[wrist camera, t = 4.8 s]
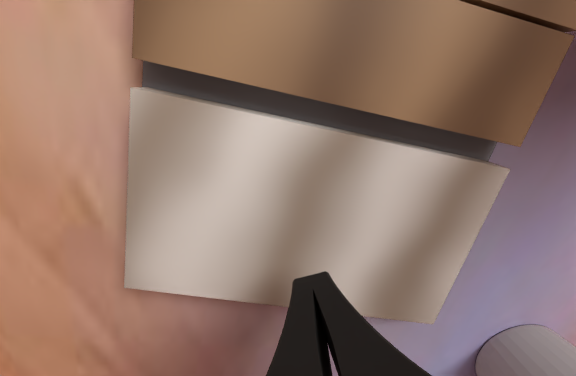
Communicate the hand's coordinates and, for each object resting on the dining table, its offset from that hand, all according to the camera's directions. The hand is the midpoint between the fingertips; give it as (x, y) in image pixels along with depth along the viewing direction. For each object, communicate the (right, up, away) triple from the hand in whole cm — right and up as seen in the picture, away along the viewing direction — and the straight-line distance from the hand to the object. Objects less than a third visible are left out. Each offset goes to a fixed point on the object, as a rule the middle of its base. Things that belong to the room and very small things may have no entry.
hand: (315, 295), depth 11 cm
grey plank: (0, +3, +3) cm, 4 cm away
